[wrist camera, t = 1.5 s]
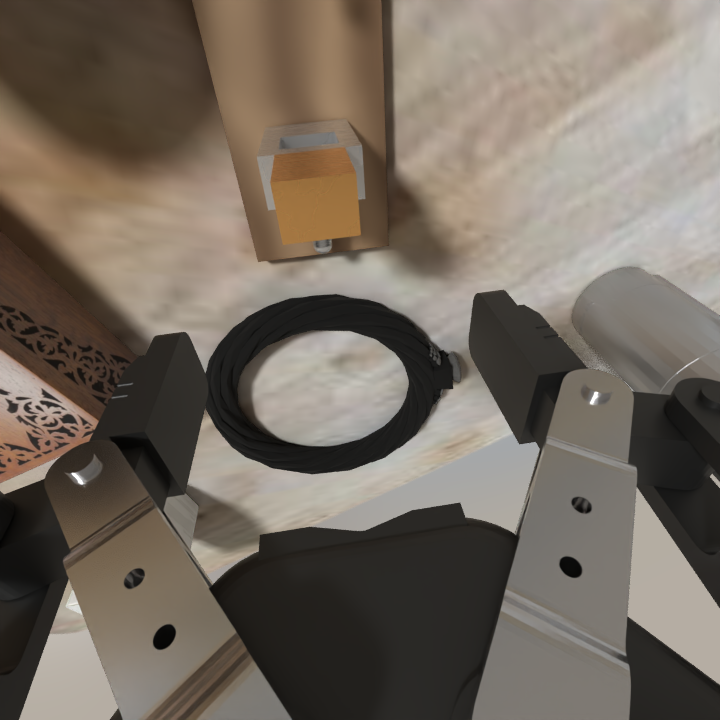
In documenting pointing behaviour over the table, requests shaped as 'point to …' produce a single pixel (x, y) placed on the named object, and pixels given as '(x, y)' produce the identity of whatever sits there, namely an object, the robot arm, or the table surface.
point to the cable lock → (328, 314)
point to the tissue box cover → (49, 366)
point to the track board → (298, 96)
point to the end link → (313, 181)
